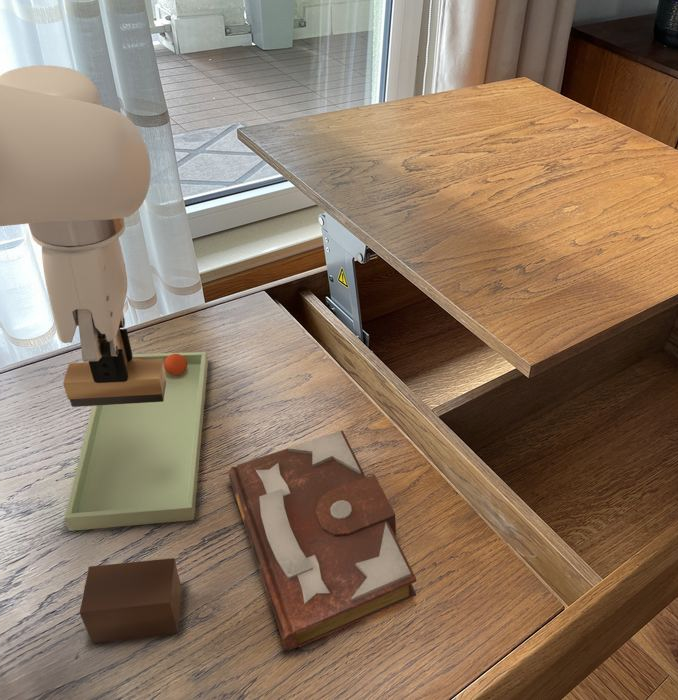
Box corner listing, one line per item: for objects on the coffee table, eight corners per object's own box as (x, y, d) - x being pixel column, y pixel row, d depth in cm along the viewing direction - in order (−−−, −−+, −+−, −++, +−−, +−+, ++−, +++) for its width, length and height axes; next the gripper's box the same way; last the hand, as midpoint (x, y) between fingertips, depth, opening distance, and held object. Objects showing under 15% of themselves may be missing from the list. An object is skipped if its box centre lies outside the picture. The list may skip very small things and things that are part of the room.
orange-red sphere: (188, 370, 101) (187, 378, 99) (166, 371, 100) (163, 379, 98) (187, 350, 100) (185, 357, 98) (164, 351, 99) (161, 358, 97)
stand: (177, 633, 73) (169, 602, 69) (92, 644, 71) (78, 612, 67) (182, 589, 76) (174, 557, 73) (100, 598, 75) (88, 566, 71)
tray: (194, 520, 83) (191, 507, 82) (69, 531, 80) (64, 518, 78) (208, 364, 103) (206, 351, 101) (108, 368, 100) (104, 355, 98)
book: (232, 489, 88) (225, 464, 85) (351, 448, 94) (349, 423, 90) (287, 656, 73) (281, 633, 70) (424, 595, 79) (425, 572, 76)
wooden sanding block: (164, 402, 77) (149, 334, 71) (70, 407, 75) (47, 337, 69) (167, 382, 79) (153, 314, 73) (76, 387, 77) (54, 317, 71)
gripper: (49, 172, 68) (88, 323, 80) (3, 266, 56) (58, 428, 68) (134, 174, 70) (160, 322, 82) (107, 266, 58) (143, 423, 70)
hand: (113, 369), depth 75 cm, fingers closed on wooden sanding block, 2 cm apart
